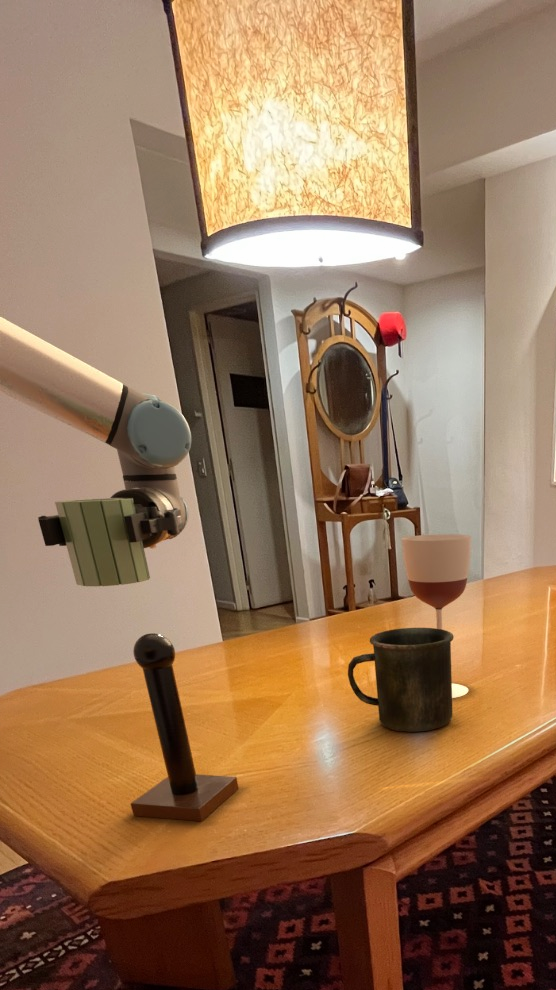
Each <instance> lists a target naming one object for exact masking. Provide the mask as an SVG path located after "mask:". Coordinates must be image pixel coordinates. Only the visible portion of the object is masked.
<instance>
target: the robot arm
mask: <svg viewBox="0 0 556 990" xmlns="http://www.w3.org/2000/svg"><path fill="white" fill-rule="evenodd" d="M0 393H2V394H4V395H6V396H8V397H9V398H12V399H14V400H17V401H18V402H21V404H24V405H26V406H28V407H30V408H33V409H35V410H36V411H38V412H41V413H43V414H45V415H47V416H49V417H51V418H52V419H55V420H57V421H59V422H61V423H63V424H65V425H67V426H70V427H72V428H74V429H75V430H78V431H80V432H82V433H84V434H86V435H88V436H90V437H93V438H94V439H97V440H98V441H100V442H103V443H104V444H106V445H108V446H110V447H112V448H114V449H116V451H117V456H118V460H119V465H120V469H121V473H122V481H123V484H124V488H125V489H121V490H118V491H117V492H114V494H112V495H111V496H110V498H133V501H134V505H135V510H136V514H133V515H128V516H124V519H125V524H126V528H127V533H128V537H129V542H139V541H141V540H142V542H143V547H144V549H148V548H149V549H156V547H157V544H159V543H161V542H163V541H166V540H172V539H175V538H176V537H178V536H179V535H180V534H181V533H182V532H183V531H184V530H185V528H186V526H187V525H188V522H189V521H188V520H189V508H188V506H187V503H186V501H185V500H184V498H183V497H182V495H181V494H180V493H181V492H180V487H179V483H178V477H177V473H176V466H178V465H179V464H180V463H181V462H183V460H184V459H185V458H187V456H188V454H189V453H190V450H191V447H192V432H191V429H190V426H189V423H188V421H187V419H186V418H185V417H184V415H183V413H182V412H180V410H178V408H176V407H175V406H173V405H172V404H170V403H169V402H166V401H164V400H162V399H161V398H160V397H159V396H158V395H154V394H149V393H142V392H139V391H137V390H135V389H133V388H132V387H129V386H127V385H125V384H123V382H121V381H119V380H117V379H115V378H113V377H112V376H110V375H107V374H106V373H104V372H103V371H100V370H98V369H97V368H95V367H93V366H92V365H90V364H88V363H86V362H85V361H82V360H81V359H79V358H77V357H75V356H73V355H71V354H69V353H68V352H66V351H64V350H63V349H60V348H59V347H57V346H56V345H53V344H51V343H49V342H48V341H46V340H44V339H42V338H41V337H38V336H36V335H35V334H33V333H31V332H30V331H28V330H26V329H25V328H22V327H20V326H18V325H17V324H15V323H13V322H11V321H9V320H8V319H5V318H4V317H2V316H0ZM37 519H38V525H39V527H40V532H41V534H42V538H43V542H44V545H45V547H53V546H56V545H59V547H67V546H66V542H65V538H64V534H63V530H62V527H61V523H60V519H59V515H58V514H54V515H40V516H38V517H37Z"/></svg>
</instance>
